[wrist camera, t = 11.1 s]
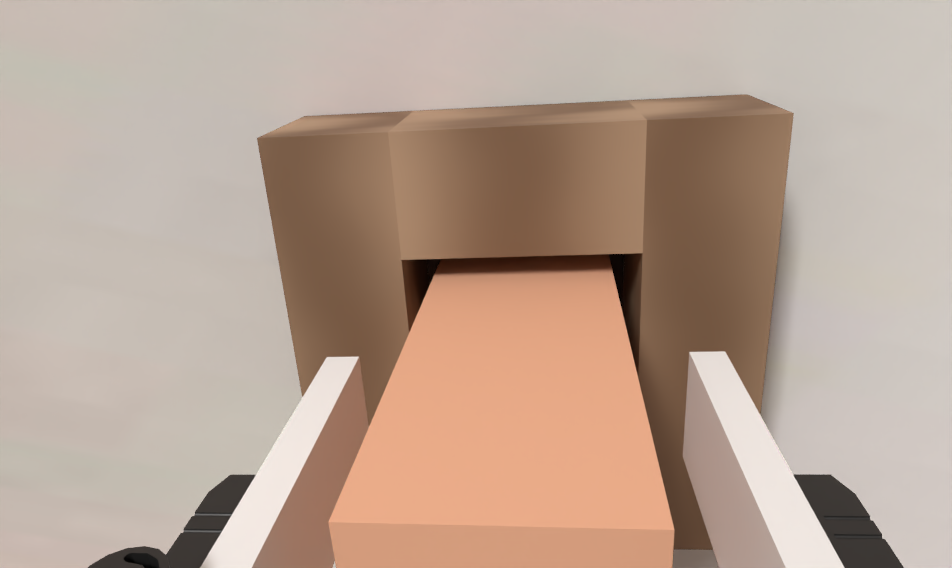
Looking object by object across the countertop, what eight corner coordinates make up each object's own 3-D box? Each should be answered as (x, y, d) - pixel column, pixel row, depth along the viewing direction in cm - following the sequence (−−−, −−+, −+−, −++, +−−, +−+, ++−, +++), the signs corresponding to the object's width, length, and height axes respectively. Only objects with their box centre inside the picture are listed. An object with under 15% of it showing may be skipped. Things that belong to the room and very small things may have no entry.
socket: (747, 94, 18) (793, 112, 15) (715, 471, 22) (745, 550, 19) (304, 116, 19) (256, 138, 16) (356, 470, 24) (328, 544, 20)
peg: (604, 235, 20) (674, 530, 9) (602, 373, 21) (659, 767, 10) (449, 239, 20) (328, 522, 9) (459, 373, 22) (367, 749, 11)
